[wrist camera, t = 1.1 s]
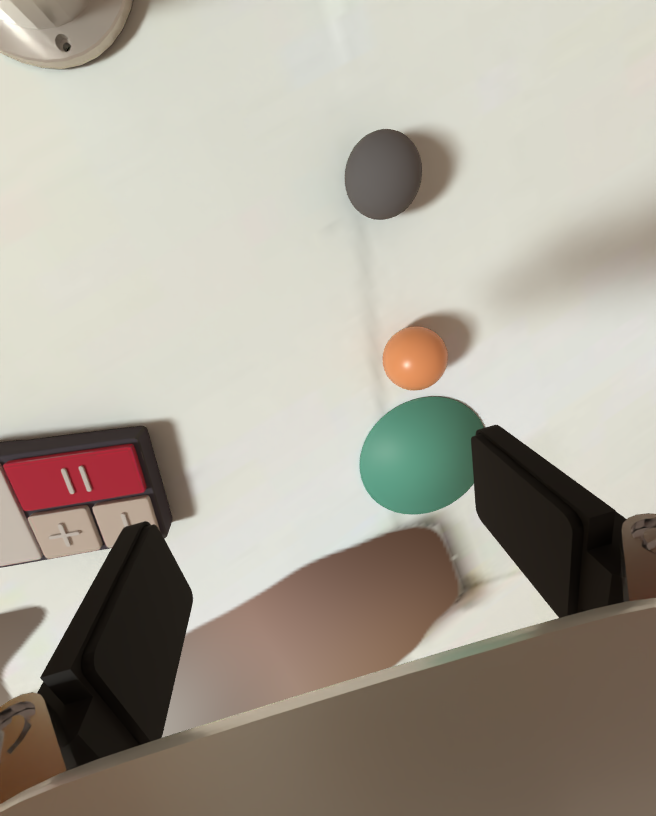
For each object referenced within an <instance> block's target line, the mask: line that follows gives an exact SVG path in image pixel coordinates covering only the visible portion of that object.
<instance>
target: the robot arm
mask: <svg viewBox="0 0 656 816" xmlns="http://www.w3.org/2000/svg"><path fill="white" fill-rule="evenodd" d="M132 1H133V0H0V53H2V54H4V55H6V56H8V57H11V58H13V59H15V60H17V61H19V62H22V63H25V64H29V65H33V66H37V67H41V68H55V69H64V68H69V67H74V66H79V65H83V64H85V63H87V62H89V61H91V60H93V59H95V58H97V57H98V56H99V55H101V54H102V53H103V52H104V51H105V50H106V49H108V48H109V47H110V46H111V45H112V44H113V42H114V41H115V39H116V38H117V37H118V35H119V34H120V32H121V31H122V29H123V27H124V25H125V22H126V20H127V18H128V15H129V13H130V10H131V6H132ZM68 47H71V48H70V50H69V51H68V52H67V48H68ZM471 449H472V462H473V476H474V490H475V503H476V511H477V514H478V516H479V518H480V520H481V521H482V523H483V524H484V525H485V526H486V527H487V529H488V530H489V531H490V532H491V534H492V535H493V536H494V537H495V539H496V540H497V541H498V542H499V544H500V545H501V546H502V547H503V549H504V550H505V551H506V552H507V554H508V555H509V556H510V557H511V559H512V560H513V561H514V562H515V564H516V565H517V566H518V567H519V569H520V570H521V571H522V572H523V573H524V575H525V576H526V577H527V578H528V580H529V581H530V582H531V583H532V585H533V586H534V587H535V588H536V590H537V591H538V592H539V593H540V595H541V596H542V597H543V598H544V600H545V601H546V602H547V603H548V605H549V606H550V607H551V608H552V610H553V611H554V612H555V613H556V615H557V616H558V617H559V618H558V619H554V620H551V621H547V622H544V623H540V624H536V625H533V626H529V627H525V628H522V629H519V630H515V631H512V632H508V633H505V634H502V635H498V636H495V637H492V638H488V639H485V640H481V641H478V642H475V643H471V644H468V645H465V646H461V647H458V648H454V649H451V650H448V651H444V652H441V653H438V654H434V655H431V656H428V657H424V658H421V659H417V660H414V661H411V662H407V663H404V664H401V665H398V666H394V667H391V668H388V669H384V670H381V671H378V672H375V673H371V674H368V675H365V676H362V677H358V678H354V679H352V680H348V681H345V682H342V683H338V684H335V685H332V686H328V687H325V688H322V689H318V690H315V691H312V692H308V693H305V694H302V695H299V696H295V697H292V698H289V699H285V700H282V701H279V702H276V703H273V704H269V705H266V706H263V707H260V708H256V709H253V710H250V711H247V712H243V713H240V714H237V715H234V716H231V717H227V718H224V719H221V720H218V721H214V722H211V723H208V724H205V725H201V726H198V727H195V728H192V729H188V730H185V731H182V732H179V733H176V734H172V735H170V736H166V737H163V738H161V737H162V734H163V730H164V726H165V721H166V717H167V713H168V708H169V704H170V699H171V695H172V691H173V686H174V682H175V678H176V673H177V669H178V664H179V660H180V656H181V651H182V647H183V643H184V638H185V634H186V630H187V625H188V621H189V617H190V612H191V608H192V603H193V595H192V591H191V588H190V587H189V585H188V583H187V581H186V579H185V577H184V575H183V573H182V572H181V570H180V568H179V566H178V564H177V562H176V560H175V558H174V556H173V555H172V553H171V551H170V549H169V547H168V545H167V543H166V541H165V540H164V538H163V536H162V534H161V532H160V530H159V528H158V527H157V526H156V525H155V524H153V525H151V524H150V523H149V522H147V521H144V522H140V523H137V524H133V525H129V526H126V527H124V528H123V529H122V531H121V533H120V534H119V536H118V538H117V540H116V542H115V543H114V545H113V547H112V549H111V551H110V552H109V554H108V556H107V558H106V560H105V562H104V563H103V565H102V567H101V569H100V571H99V572H98V574H97V576H96V578H95V580H94V581H93V583H92V585H91V587H90V589H89V590H88V592H87V594H86V596H85V598H84V599H83V601H82V603H81V605H80V607H79V609H78V610H77V612H76V614H75V616H74V618H73V619H72V621H71V623H70V625H69V627H68V628H67V630H66V632H65V634H64V636H63V637H62V639H61V641H60V643H59V645H58V647H57V648H56V650H55V652H54V654H53V656H52V657H51V659H50V661H49V663H48V665H47V666H46V668H45V670H44V672H43V674H42V675H41V677H40V678H41V679H42V681H43V683H42V685H41V687H40V689H39V691H38V693H33V692H31V693H27V694H22V695H20V696H18V697H15V698H13V699H11V700H9V701H8V702H6V703H5V704H3V705H2V706H1V707H0V816H656V514H649V513H648V514H638V515H635V516H632V517H629V518H628V519H625V518H624V517H623V516H621V515H620V514H619V513H617V512H616V511H615V510H614V509H613V508H611V507H610V506H609V505H607V504H606V503H605V502H603V501H602V500H600V499H599V498H598V497H596V496H595V495H594V494H592V493H591V492H589V491H588V490H587V489H585V488H584V487H583V486H581V485H580V484H578V483H577V482H576V481H574V480H573V479H572V478H570V477H569V476H567V475H566V474H565V473H563V472H562V471H561V470H559V469H558V468H556V467H555V466H554V465H552V464H551V463H550V462H548V461H547V460H545V459H544V458H543V457H541V456H540V455H539V454H537V453H536V452H534V451H533V450H532V449H530V448H529V447H528V446H526V445H525V444H523V443H522V442H521V441H519V440H518V439H517V438H515V437H514V436H513V435H511V434H510V433H508V432H507V431H506V430H504V429H503V428H502V427H500V426H498V425H493V426H490V427H486V428H482V429H479V430H477V431H476V434H475V436H472V438H471Z"/></svg>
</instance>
